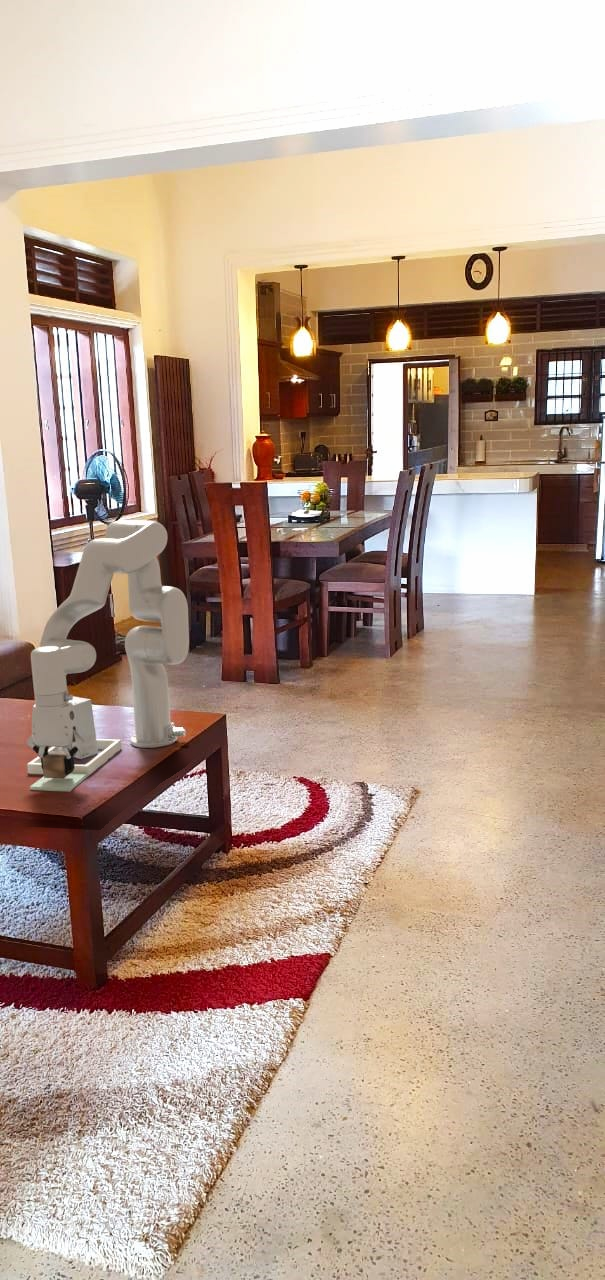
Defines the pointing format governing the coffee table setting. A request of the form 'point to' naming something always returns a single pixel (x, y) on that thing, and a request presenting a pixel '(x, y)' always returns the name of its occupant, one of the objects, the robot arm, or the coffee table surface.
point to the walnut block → (54, 765)
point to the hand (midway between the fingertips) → (58, 771)
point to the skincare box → (85, 727)
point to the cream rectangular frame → (110, 749)
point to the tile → (59, 783)
